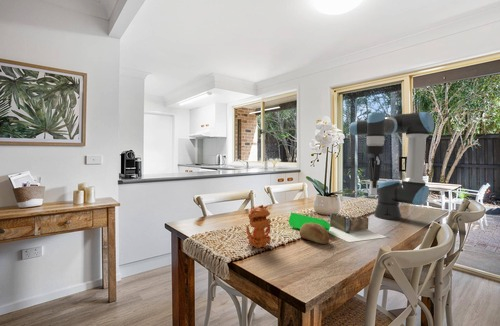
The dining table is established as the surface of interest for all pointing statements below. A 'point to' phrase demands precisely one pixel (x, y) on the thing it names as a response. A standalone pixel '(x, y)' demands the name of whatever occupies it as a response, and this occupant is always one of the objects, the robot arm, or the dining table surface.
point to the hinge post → (347, 225)
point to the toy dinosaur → (259, 227)
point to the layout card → (354, 235)
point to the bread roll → (314, 233)
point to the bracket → (306, 221)
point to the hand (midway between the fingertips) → (373, 194)
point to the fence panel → (358, 223)
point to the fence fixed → (338, 221)
